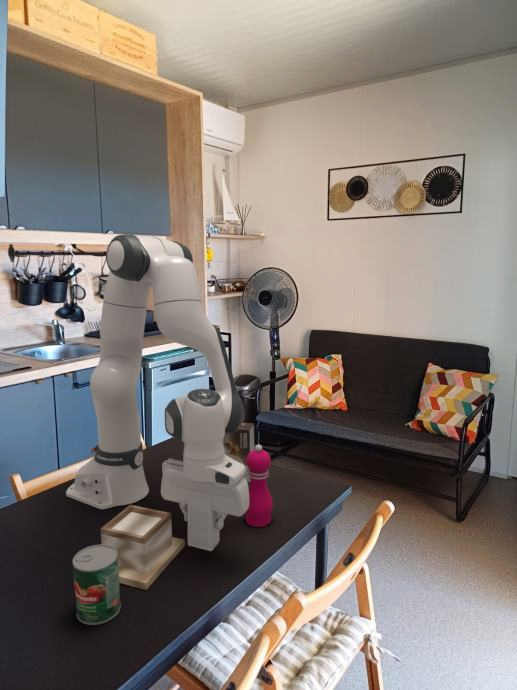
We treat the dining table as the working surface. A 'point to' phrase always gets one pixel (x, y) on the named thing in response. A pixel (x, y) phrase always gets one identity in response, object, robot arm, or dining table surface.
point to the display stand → (141, 544)
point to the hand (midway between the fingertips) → (203, 524)
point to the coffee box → (240, 445)
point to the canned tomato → (96, 584)
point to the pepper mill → (258, 488)
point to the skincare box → (202, 523)
